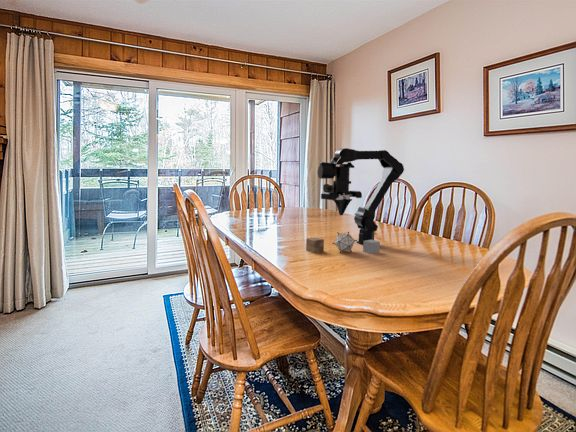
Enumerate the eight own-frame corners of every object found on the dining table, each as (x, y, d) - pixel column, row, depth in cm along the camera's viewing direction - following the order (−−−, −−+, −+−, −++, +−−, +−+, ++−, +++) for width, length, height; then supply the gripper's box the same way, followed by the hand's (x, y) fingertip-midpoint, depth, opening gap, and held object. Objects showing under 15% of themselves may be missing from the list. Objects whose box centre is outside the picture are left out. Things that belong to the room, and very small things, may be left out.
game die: (347, 261, 141) (356, 245, 134) (328, 253, 142) (335, 236, 135) (352, 246, 147) (361, 230, 140) (333, 238, 148) (341, 222, 141)
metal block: (315, 248, 146) (316, 237, 145) (323, 251, 142) (323, 239, 141) (306, 250, 143) (306, 238, 143) (313, 253, 139) (314, 240, 139)
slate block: (370, 250, 145) (371, 239, 144) (379, 252, 141) (379, 241, 140) (363, 251, 142) (363, 240, 142) (371, 254, 139) (371, 242, 138)
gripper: (345, 177, 161) (344, 211, 163) (313, 178, 151) (312, 214, 153) (363, 178, 152) (361, 214, 154) (330, 179, 142) (329, 217, 144)
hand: (341, 215), depth 152 cm, fingers closed
